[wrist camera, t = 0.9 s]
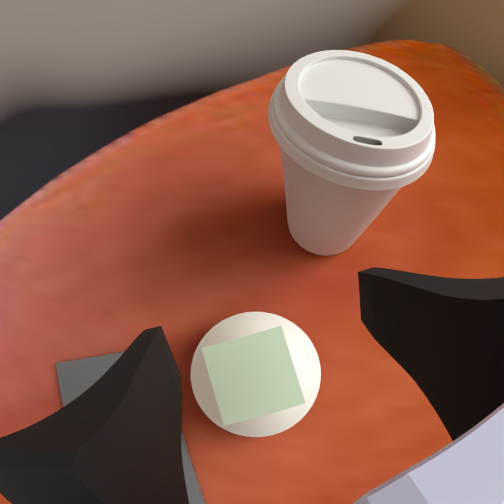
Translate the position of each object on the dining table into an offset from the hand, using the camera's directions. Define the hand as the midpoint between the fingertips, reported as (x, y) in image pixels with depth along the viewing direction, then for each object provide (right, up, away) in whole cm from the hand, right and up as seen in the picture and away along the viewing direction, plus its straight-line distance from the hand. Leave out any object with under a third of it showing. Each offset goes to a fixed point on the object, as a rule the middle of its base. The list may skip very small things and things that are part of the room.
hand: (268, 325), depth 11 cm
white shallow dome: (0, -7, +12) cm, 14 cm away
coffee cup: (+6, +5, +17) cm, 19 cm away
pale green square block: (0, -6, +10) cm, 11 cm away
